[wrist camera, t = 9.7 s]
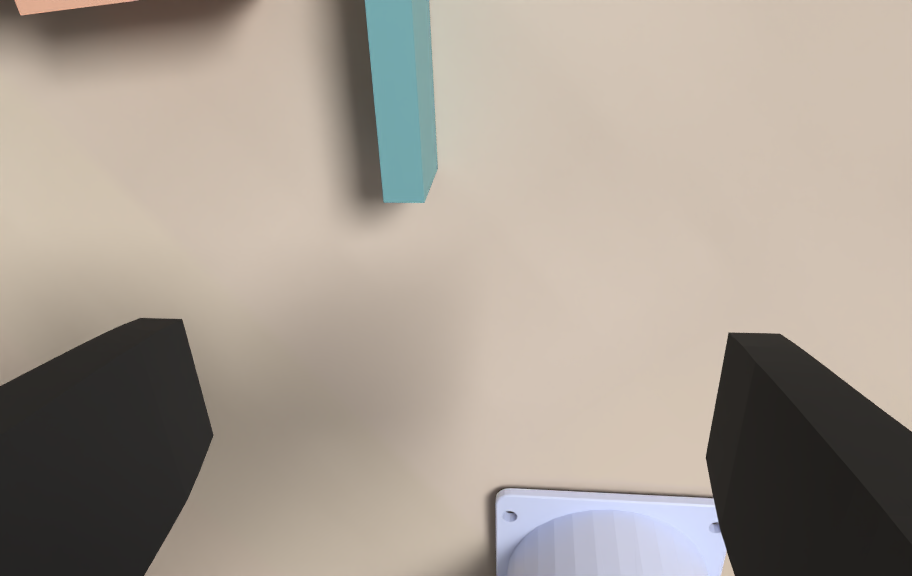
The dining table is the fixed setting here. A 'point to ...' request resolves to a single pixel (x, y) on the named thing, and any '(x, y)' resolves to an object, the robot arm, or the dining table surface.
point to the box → (403, 97)
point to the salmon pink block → (58, 5)
